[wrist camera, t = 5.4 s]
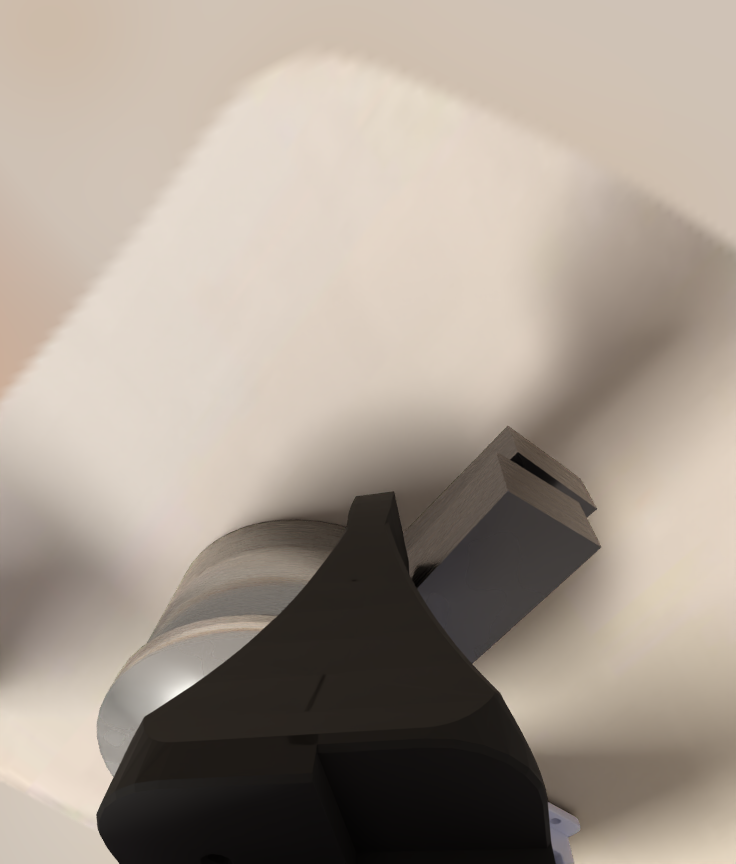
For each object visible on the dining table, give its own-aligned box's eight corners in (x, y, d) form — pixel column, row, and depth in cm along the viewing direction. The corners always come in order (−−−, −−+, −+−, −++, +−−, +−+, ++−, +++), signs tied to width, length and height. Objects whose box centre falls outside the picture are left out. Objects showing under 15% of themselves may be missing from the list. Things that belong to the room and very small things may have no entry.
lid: (345, 873, 21) (340, 932, 19) (66, 760, 18) (33, 816, 17) (722, 590, 13) (766, 650, 11) (317, 341, 11) (301, 371, 9)
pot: (646, 500, 17) (717, 599, 13) (344, 746, 25) (331, 858, 21) (383, 303, 15) (373, 352, 11) (135, 639, 22) (75, 742, 18)
